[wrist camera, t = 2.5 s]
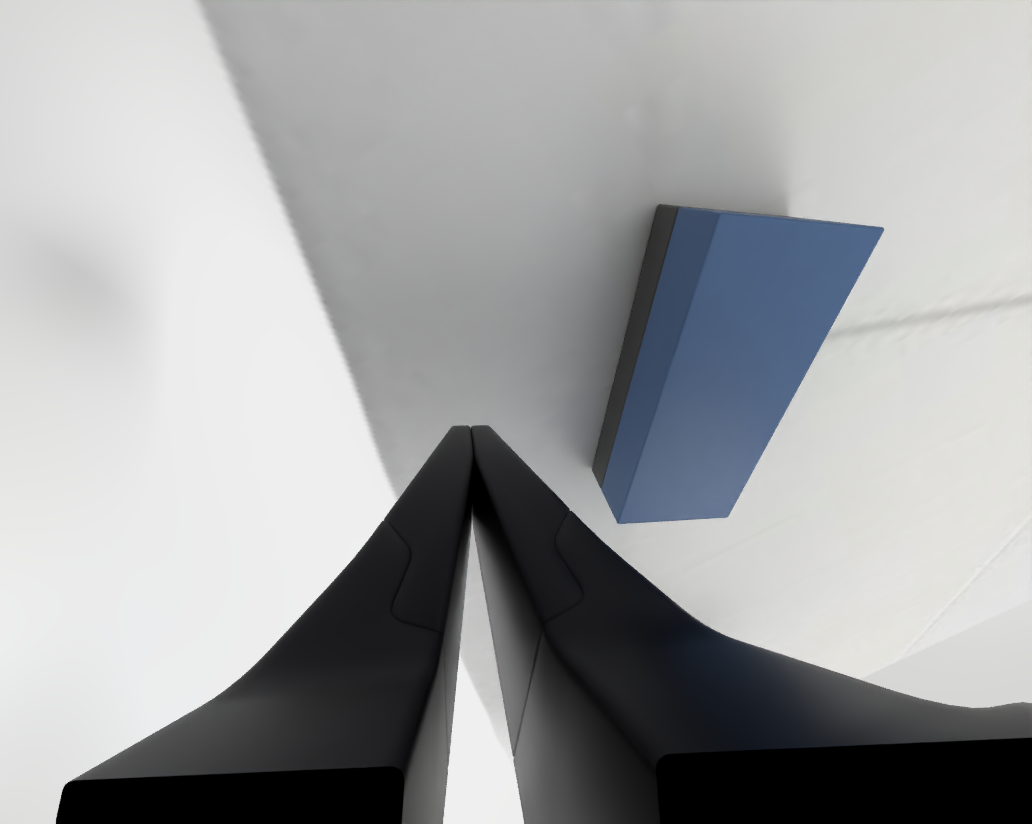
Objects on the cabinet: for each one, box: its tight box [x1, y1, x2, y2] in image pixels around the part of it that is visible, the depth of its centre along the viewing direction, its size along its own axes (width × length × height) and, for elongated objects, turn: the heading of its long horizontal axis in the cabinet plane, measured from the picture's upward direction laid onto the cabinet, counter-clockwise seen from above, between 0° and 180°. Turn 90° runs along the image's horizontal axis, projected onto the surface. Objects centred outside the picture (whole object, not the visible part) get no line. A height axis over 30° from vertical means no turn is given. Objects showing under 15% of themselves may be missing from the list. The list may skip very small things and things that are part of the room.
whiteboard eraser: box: [592, 204, 884, 524], centre depth 12 cm, size 10×4×3 cm, turn 175°
